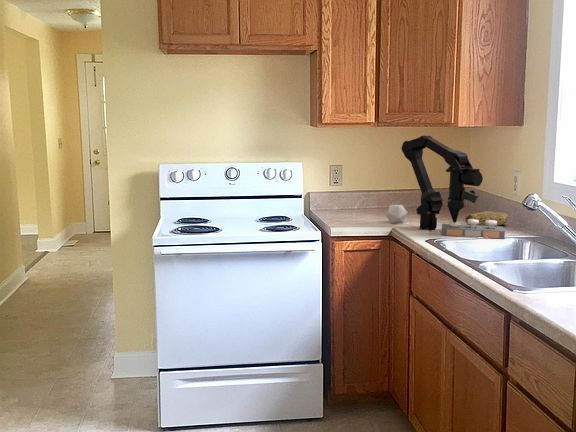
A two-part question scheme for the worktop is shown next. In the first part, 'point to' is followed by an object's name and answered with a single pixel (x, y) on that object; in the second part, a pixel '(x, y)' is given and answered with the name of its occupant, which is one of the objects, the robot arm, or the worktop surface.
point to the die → (396, 214)
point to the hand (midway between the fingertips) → (454, 222)
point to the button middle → (472, 222)
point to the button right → (490, 223)
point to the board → (473, 231)
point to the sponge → (488, 217)
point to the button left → (454, 224)
